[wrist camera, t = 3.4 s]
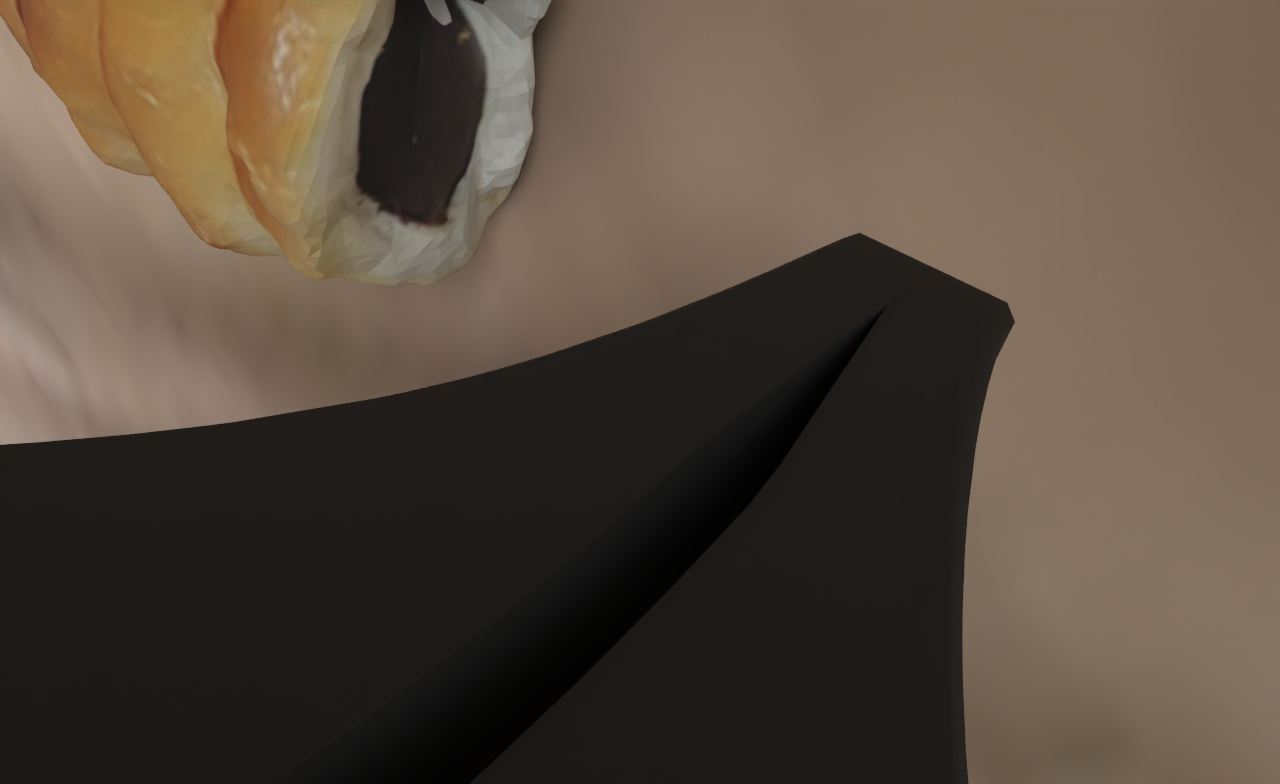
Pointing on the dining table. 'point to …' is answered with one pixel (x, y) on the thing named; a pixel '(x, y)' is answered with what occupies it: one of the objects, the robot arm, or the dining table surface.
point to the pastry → (304, 118)
